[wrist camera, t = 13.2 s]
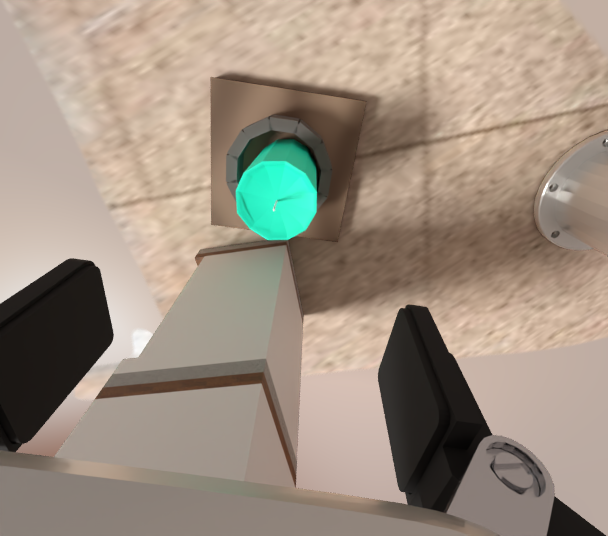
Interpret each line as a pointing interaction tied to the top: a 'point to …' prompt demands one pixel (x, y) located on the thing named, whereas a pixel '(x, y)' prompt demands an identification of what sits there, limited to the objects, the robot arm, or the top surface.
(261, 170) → the candle
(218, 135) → the candle stand
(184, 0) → the top surface
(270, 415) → the tall banded pillar
